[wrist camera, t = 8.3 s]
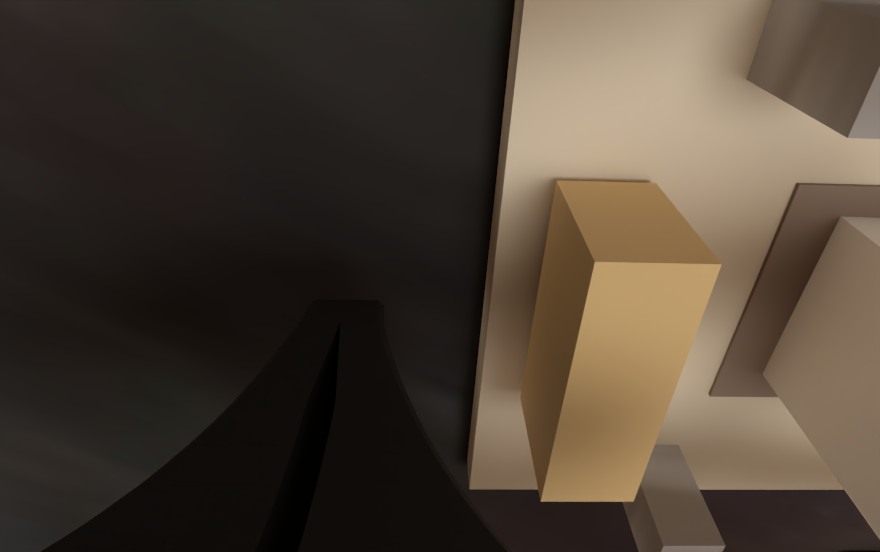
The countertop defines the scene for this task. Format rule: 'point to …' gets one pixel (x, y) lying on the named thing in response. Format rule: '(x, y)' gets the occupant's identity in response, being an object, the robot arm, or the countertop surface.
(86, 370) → the countertop surface
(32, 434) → the countertop surface
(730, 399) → the press bed
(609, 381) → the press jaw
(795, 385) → the block
